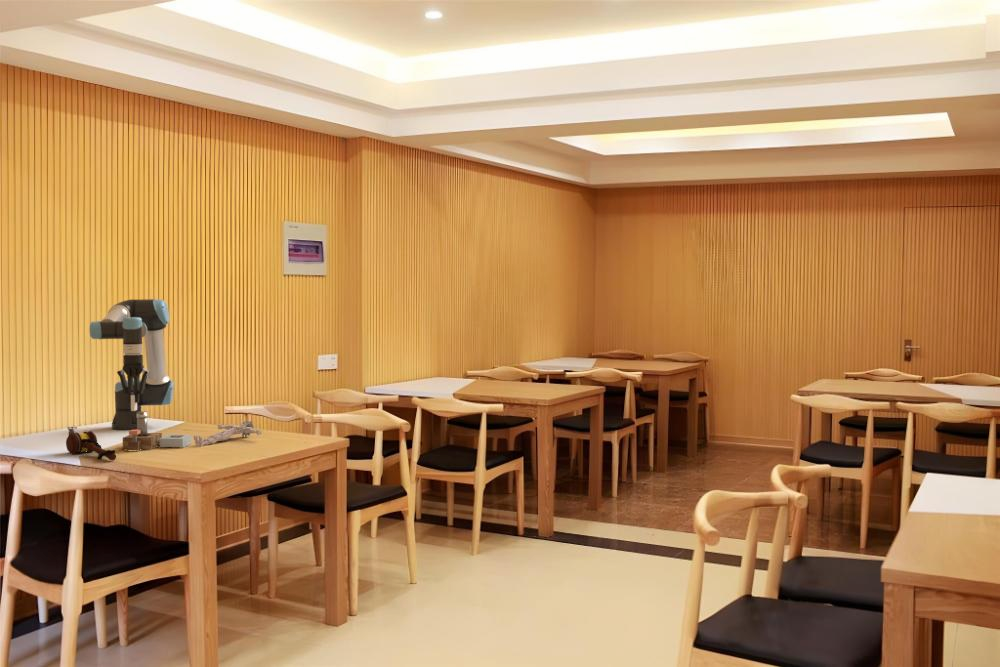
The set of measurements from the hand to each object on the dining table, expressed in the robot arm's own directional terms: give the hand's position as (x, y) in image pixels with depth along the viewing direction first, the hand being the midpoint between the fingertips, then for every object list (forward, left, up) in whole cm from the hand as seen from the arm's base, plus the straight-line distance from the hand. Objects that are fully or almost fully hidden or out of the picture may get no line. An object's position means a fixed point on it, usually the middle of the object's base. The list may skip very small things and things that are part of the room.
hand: (134, 410), depth 373 cm
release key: (0, 0, -14) cm, 14 cm away
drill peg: (-8, 0, -17) cm, 19 cm away
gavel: (+12, -12, -18) cm, 24 cm away
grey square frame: (-11, +13, -17) cm, 24 cm away
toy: (-23, +31, -17) cm, 42 cm away
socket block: (-6, 0, -17) cm, 18 cm away
